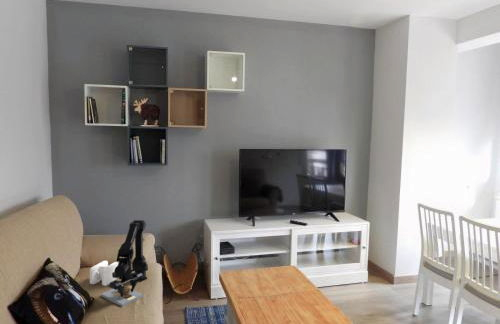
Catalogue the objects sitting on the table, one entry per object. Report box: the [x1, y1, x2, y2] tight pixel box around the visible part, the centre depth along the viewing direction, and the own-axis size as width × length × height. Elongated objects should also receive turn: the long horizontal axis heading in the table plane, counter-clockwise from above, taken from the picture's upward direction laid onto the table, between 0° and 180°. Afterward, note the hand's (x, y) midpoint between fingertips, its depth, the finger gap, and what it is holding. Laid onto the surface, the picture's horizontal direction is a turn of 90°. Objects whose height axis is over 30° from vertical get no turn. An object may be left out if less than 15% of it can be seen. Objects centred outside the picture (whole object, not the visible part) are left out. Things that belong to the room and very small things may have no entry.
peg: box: [122, 283, 132, 299], centre depth 199 cm, size 5×5×8 cm
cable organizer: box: [89, 260, 119, 287], centre depth 219 cm, size 15×11×12 cm
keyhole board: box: [100, 284, 144, 307], centre depth 202 cm, size 20×14×2 cm
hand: (126, 294), depth 199 cm, fingers open, 6 cm apart
